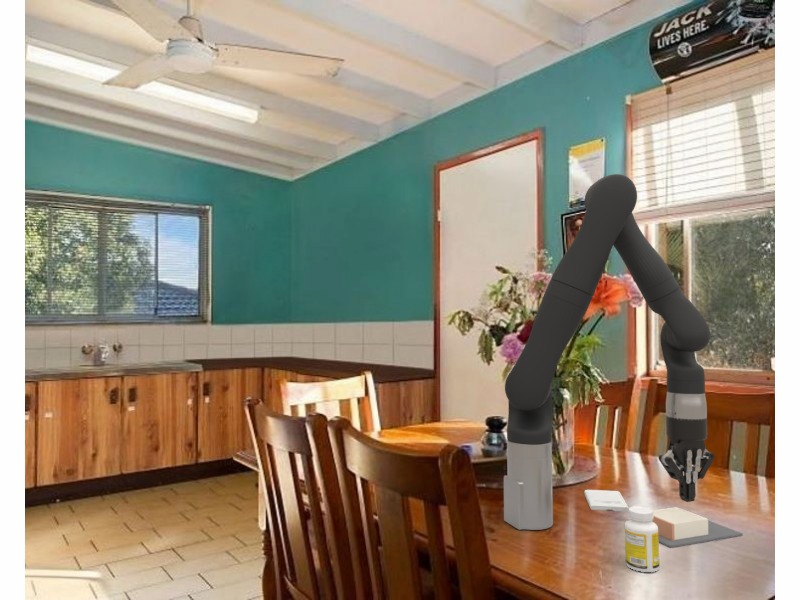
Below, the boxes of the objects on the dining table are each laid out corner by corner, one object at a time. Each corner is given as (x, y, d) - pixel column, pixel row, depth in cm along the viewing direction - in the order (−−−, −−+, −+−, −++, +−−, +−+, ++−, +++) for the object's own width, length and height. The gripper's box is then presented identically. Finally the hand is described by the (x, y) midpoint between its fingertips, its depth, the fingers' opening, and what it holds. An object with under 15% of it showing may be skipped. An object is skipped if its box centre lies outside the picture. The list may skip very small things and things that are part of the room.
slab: (708, 534, 117) (672, 540, 114) (676, 521, 125) (642, 526, 122) (708, 518, 117) (672, 524, 114) (676, 506, 125) (641, 511, 122)
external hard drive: (619, 497, 145) (629, 514, 133) (584, 496, 146) (590, 512, 134) (619, 491, 145) (629, 506, 133) (584, 489, 146) (590, 504, 134)
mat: (670, 547, 111) (670, 545, 111) (625, 527, 123) (625, 525, 123) (742, 535, 118) (742, 533, 118) (693, 516, 129) (693, 514, 129)
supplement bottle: (650, 560, 106) (649, 504, 106) (665, 573, 100) (664, 514, 101) (620, 561, 106) (619, 505, 106) (633, 574, 100) (632, 515, 101)
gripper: (675, 419, 116) (676, 509, 115) (726, 415, 120) (728, 502, 120) (646, 413, 123) (648, 498, 122) (696, 410, 127) (697, 492, 127)
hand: (687, 500), depth 121 cm, fingers closed
